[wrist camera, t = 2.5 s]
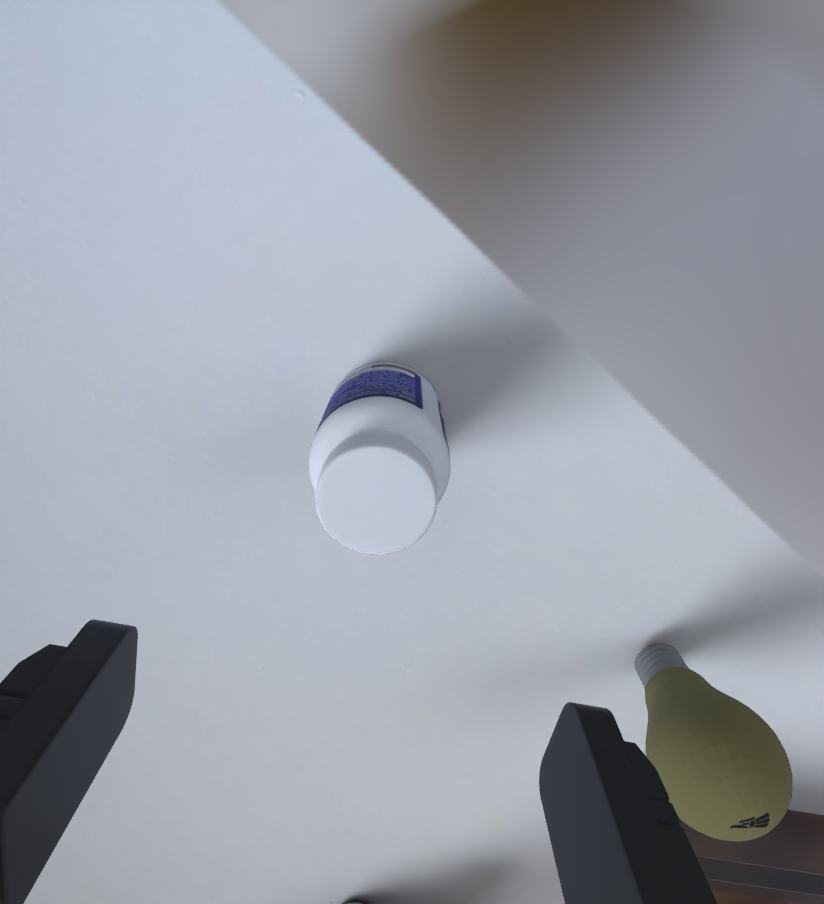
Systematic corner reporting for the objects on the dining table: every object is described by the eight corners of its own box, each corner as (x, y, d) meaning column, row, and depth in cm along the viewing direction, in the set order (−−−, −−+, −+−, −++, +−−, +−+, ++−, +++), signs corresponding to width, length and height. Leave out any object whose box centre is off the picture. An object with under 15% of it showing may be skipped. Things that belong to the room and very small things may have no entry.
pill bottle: (304, 413, 27) (258, 497, 19) (387, 335, 26) (376, 389, 17) (384, 489, 28) (373, 599, 20) (466, 420, 27) (490, 506, 19)
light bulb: (676, 591, 31) (792, 752, 21) (720, 661, 32) (846, 838, 23) (582, 641, 32) (654, 815, 22) (630, 706, 33) (715, 892, 24)
